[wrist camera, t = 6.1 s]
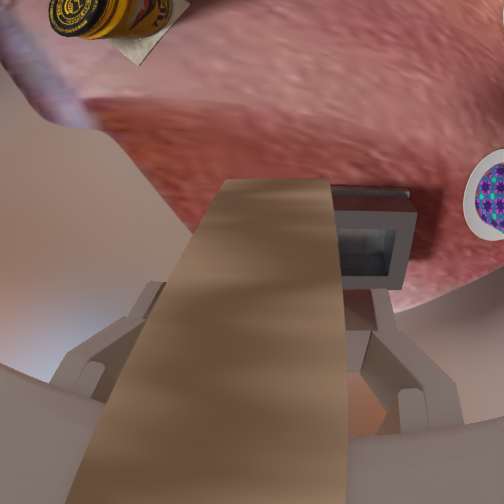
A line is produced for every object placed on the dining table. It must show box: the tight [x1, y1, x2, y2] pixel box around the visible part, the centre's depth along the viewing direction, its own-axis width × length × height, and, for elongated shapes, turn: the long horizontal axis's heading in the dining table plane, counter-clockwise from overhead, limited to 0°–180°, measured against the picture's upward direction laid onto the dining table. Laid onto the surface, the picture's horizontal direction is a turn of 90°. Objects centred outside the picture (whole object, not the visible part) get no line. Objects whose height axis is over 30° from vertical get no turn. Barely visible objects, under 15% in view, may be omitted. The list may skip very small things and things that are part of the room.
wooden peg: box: [65, 178, 348, 504], centre depth 8 cm, size 4×4×12 cm
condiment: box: [48, 0, 190, 66], centre depth 19 cm, size 7×8×12 cm
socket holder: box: [330, 185, 418, 290], centre depth 32 cm, size 10×10×5 cm
